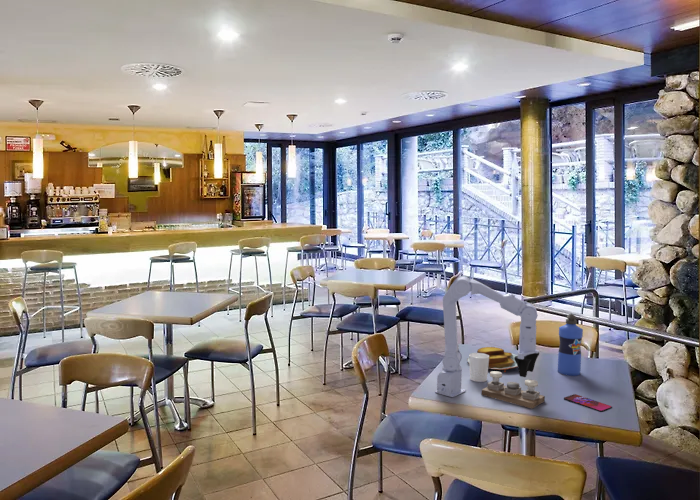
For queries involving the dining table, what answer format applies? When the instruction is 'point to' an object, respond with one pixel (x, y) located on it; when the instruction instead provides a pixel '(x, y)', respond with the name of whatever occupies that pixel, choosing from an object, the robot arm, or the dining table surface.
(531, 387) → the right knob
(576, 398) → the smartphone
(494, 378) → the left knob
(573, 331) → the water bottle
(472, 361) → the white cup
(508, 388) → the knob mount
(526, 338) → the robot arm
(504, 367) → the food on plate
